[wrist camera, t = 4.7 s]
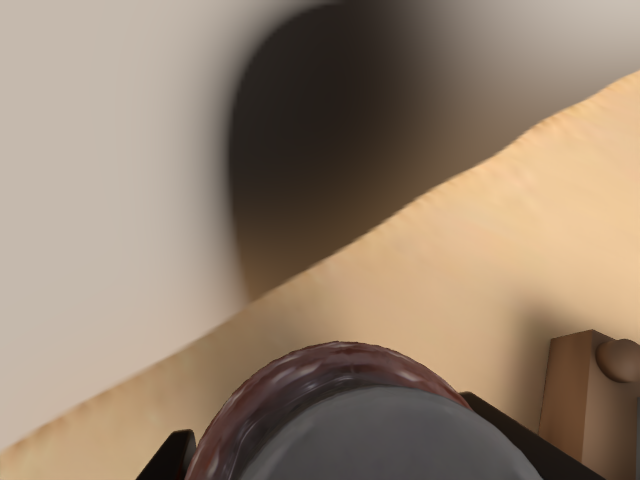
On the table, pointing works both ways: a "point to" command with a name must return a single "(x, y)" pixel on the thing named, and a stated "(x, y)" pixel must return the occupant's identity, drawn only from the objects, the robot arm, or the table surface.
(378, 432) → the supplement bottle
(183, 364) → the table surface
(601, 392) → the tower base
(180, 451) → the robot arm
